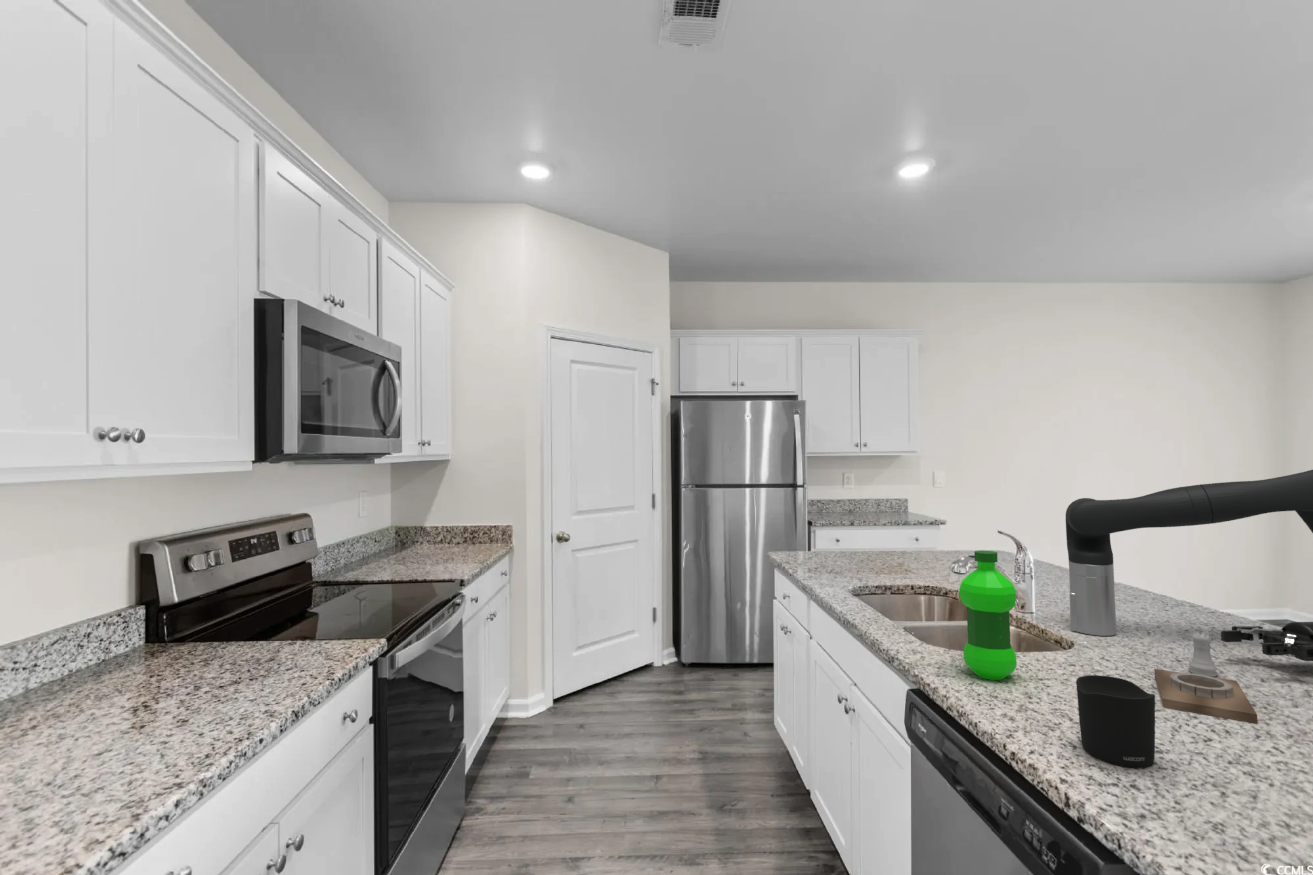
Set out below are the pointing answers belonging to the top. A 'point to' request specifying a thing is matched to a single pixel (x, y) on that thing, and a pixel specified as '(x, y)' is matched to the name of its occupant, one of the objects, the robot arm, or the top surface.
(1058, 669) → the top surface
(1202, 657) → the rook chess piece
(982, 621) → the plastic bottle
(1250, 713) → the ring plate
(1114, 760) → the pen holder
